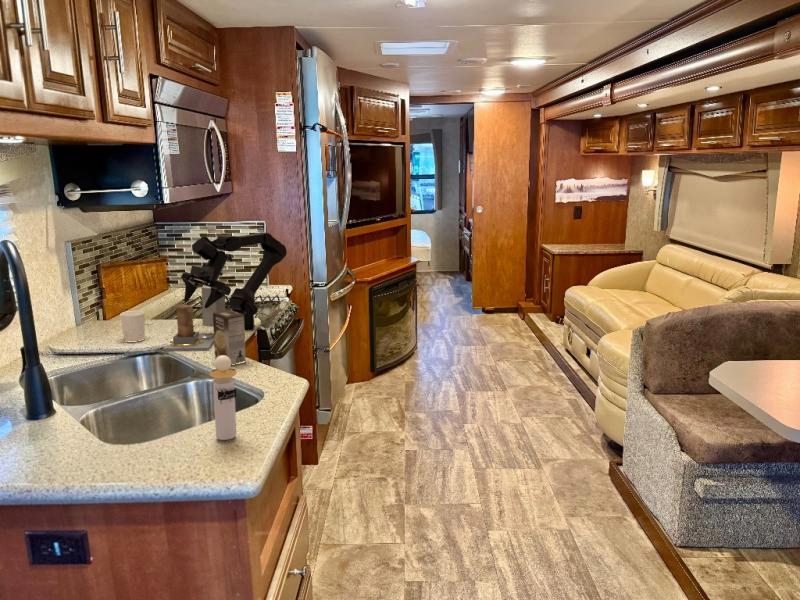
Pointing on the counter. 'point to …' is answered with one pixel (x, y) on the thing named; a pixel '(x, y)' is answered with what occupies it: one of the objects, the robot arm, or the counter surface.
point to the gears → (190, 340)
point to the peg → (185, 321)
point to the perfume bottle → (224, 398)
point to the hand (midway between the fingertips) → (195, 304)
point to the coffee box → (229, 335)
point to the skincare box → (215, 307)
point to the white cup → (133, 325)
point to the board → (200, 347)
